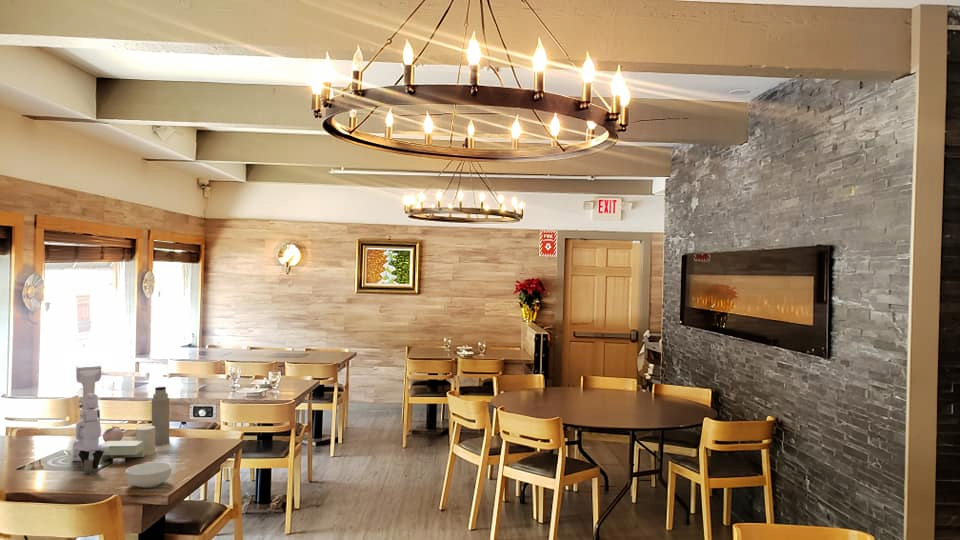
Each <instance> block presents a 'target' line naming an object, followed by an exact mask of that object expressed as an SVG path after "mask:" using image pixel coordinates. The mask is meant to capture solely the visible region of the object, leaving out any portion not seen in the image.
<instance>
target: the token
mask: <svg viewBox="0 0 960 540" xmlns="http://www.w3.org/2000/svg"><path fill="white" fill-rule="evenodd" d="M124 462H125V463H126V458H125V456H117V457H113V458H112V464H113V465H120V464H124Z"/></svg>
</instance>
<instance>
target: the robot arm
mask: <svg viewBox="0 0 960 540" xmlns="http://www.w3.org/2000/svg"><path fill="white" fill-rule="evenodd" d="M75 376H76V382H77V383H79V384H81V385H82V394H83V395H82V412H81V414H82V416H81V419H80V420H78V421H77V423H76V426H75V440H74V441H73V443H72V444H73V445H72V460H71V461H72V462H82V465H83V467H84V460H85V459H87V458H89V457H93V458H94V469H96V468H98V465H99V461H100V459H101V456H102V454H103V453H104V451H105V452H108V451H109V450H110V446H100V445H101V444H100V443H99V441H100V437H101V434H102V433H101V431H102V428H101V421H100V420H101V410H100V407H99V400H98V399H99V398H98V395H97V394H96V393H95V391H96V390H95V389H96V383H97V382H100V381H101V378H102V365H101V364H100V363H99V364H93V365H92V364H91V365H90V364H89V365H77V366H76V369H75ZM99 444H100V445H99Z"/></svg>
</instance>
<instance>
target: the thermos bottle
mask: <svg viewBox="0 0 960 540" xmlns="http://www.w3.org/2000/svg"><path fill="white" fill-rule="evenodd" d="M166 389H167V387H166V386H157V387H155V388H154V391H155V392H154V393H153V395H152V398H151V426H155V446H163V444H165V445H168V444H169V443H170V397H169V393H167V390H166ZM167 443H168V444H167Z"/></svg>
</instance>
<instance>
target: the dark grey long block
mask: <svg viewBox="0 0 960 540" xmlns="http://www.w3.org/2000/svg"><path fill="white" fill-rule="evenodd" d="M109 464H110V462H109V461H104V462H101V463H99V465H98V468H96V469H94V458H93V457H89V458H87V459H85V460H84V466H83V475H94V474H95V473H97V472H98V471H100V470H101V469H103V468H104V467H106V466H108V465H109Z"/></svg>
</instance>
